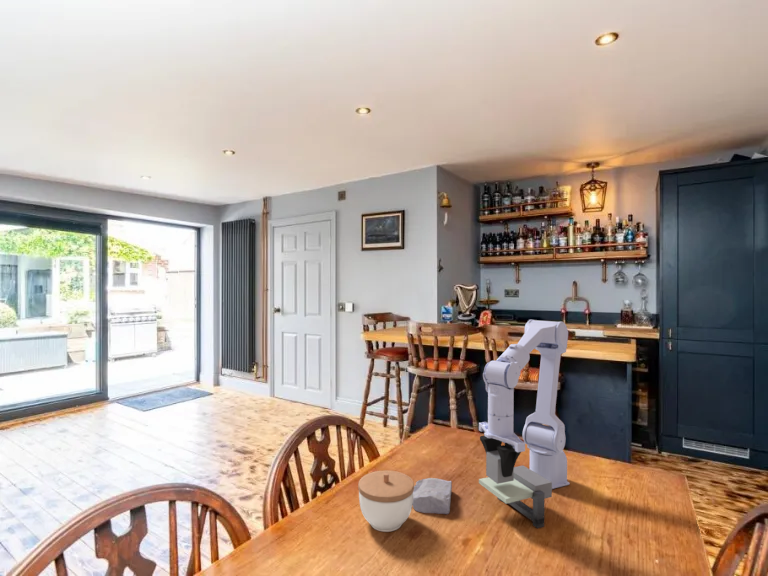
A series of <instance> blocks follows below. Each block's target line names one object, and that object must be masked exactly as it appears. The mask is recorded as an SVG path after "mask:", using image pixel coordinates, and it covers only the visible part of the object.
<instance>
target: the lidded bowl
mask: <svg viewBox="0 0 768 576" xmlns="http://www.w3.org/2000/svg"><path fill="white" fill-rule="evenodd" d="M357 486H358V500H359V506H360V507H359V508H360V511H361V514H362V515H363V517H364V519H365V520H366V521H367V522H368V523H369V525H370V526H371V528H373V529H374V530H375V531H378V532H382V533H383V532H384V533H389V532H394V531H397V530H398V529H400V528H401V527H402V525H403V524H404V523H405V522H406V521H407V520H408V518H409V517H410V515H411V512H412V508H413V491H414V486H415V482H414V480H413V479H412V478H411V476H409V475H408V474H405V473H404V472H400V471H396V470H387V469H386V470H376V471H372V472H369V473H367V474H364V475H363V476H361V478H360V479H359V481H358V485H357Z"/></svg>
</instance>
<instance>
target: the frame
mask: <svg viewBox="0 0 768 576" xmlns="http://www.w3.org/2000/svg"><path fill="white" fill-rule="evenodd" d="M496 497H497V496H496ZM544 497H545V493H544V492H542V491H540V490H538V491H534V492H533V499H532V508H531V507H530V506H529V505H527V504H526V503H524V502H523V501H522V500H519V501H515V502H511V503H507V504H508V505H510V506H511V507H513V508H514V509H515V510H517V511H518V512H519V513H521V514H522V515H523V516H524V517H526V518H527V519H529V520H530V521H531V522H532V526H533V527H535V528H536V529H541V528H544V527H545V499H544ZM497 500H499V501H500V502H503V501H502V500H501V499H499V498H498V497H497Z"/></svg>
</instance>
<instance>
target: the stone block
mask: <svg viewBox="0 0 768 576" xmlns="http://www.w3.org/2000/svg"><path fill="white" fill-rule="evenodd" d="M452 484H453V483H452V480H445V479H443V478H442V479H441V478H437V477H436V478H434V477H428V478H422V479H419V480H417V481H416V482H415V484H414V491H413V505H412V508H413V509H414V511H415V512H420V513H422V514H423V513H424V514H438V515H440V514H441V515H442V514H443V515H449V514H450V511H451V502H452V501H451V499H452V492H453V491H452V488H453V486H452Z"/></svg>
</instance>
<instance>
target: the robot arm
mask: <svg viewBox="0 0 768 576" xmlns="http://www.w3.org/2000/svg"><path fill="white" fill-rule="evenodd" d="M567 327H568V326H567V325H566V323H565V322H564V321H551V320H537V319H528V320H527V322H526V323H525V325H524V333H523V335H522V336H521V338H520V339H519V341H517V343H511V344H509V346H508V347H507V348H506V349H505V350H504V351H503V352H502V354H501V355H500V356H498V358H497V359H496V360H490V361H489V362H487V363H486V364H485V366H484V370H483V373H482V378H483V382H484V384H485V391H486V393H487V421H482V422H478V431H480V432H483V434H484V435H480V436H479V441H480V442H481V444H482V446H483V448H484V451H485V453H486V452H490V451H496V450H498V452H499V455H500V459H501V469H502V475H503V477H509V476H512V473H513V469H514V467H515V466H516V465H515V464H516V462H517V460H518V458H519V457H520V455H521V453H522V452H523V453H524V452H526V446H527V449H529V469H530V470H532V471H533V472H535V473H537V474H539V475H540V476H542V477H544V478H545V479H547V480H549V481H550V482H552V490H555V489H556V488H562V487H566V486H569V485H570V482H569V481H568V458H567V454H566V453H565V452H564V448H565V446H566V440H567V439H566V432H565V431H566V427H565V426H566V425H565V424H564V422H563V421H562V420H561V419H560V418H559V417H558V416H557V415H556V406H557V405H556V404H557V397H558V385H559V383H558V382H559V374H560V373H559V372H560V363H561V356H562V354H564V353H565V354H566V353H567V349H568V340H569V330H568V328H567ZM533 350H535V351H538V352H539V354H540V366H539V374H538V385H537V393H536V404H535V411H534V412H533V413H531V414H529V415H528V416H526V419H525V424H524V426H523V429H522V439H523V440H522V439H521V438H520V437H519V436H518V435H517V434H516V433H515V432H514V406H515V405H514V402H515V401H514V392H515V389H514V388H516V386H517V385H518V382H519V379H520V377H521V371H522V370H523V369H524V368H525V367H526V365H527V364H528V363H529V361H530V358H531V357H530V356H531V355H530V353H531V352H532V351H533ZM502 444H503V445H502Z"/></svg>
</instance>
